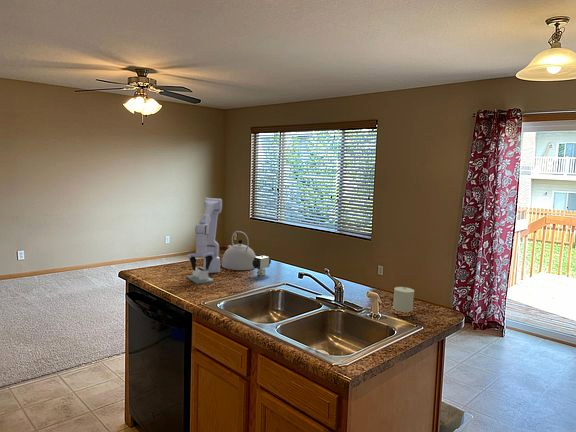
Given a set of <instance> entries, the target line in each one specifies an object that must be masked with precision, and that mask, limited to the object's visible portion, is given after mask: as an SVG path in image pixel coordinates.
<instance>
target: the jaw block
mask: <svg viewBox="0 0 576 432" xmlns="http://www.w3.org/2000/svg"><path fill="white" fill-rule="evenodd" d="M192 275H193V277H195V278H196V279H198V280H199V281H200V280H208V277H209V273H208V270H206V269H205V268H204V266H196V269H195V271H194V270H193V269H192Z"/></svg>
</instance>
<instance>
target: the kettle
mask: <svg viewBox="0 0 576 432" xmlns="http://www.w3.org/2000/svg"><path fill="white" fill-rule="evenodd" d="M236 233H241V234H243V235H244V236H245V238H246V240H247V243H246V244H242V243H243V240H242V239H238V241H237V244H235V243H234V235H235V234H236ZM231 244H232V245H231ZM231 244H229V245H227V249H226V250H225V252H224V254H223V255H222V258H221V265H222V266H221V267H223V268H224V269H227V270H234V271H248V270H249V271H250V270H254V269H255V268H254V266H253V264H252V262H253V260H254V257H257V256H256V253H255V251H254V250H253V249H252V248H251V247H249V245H250V240H249V237H248V235H247V233H245V232H243V231H240V230H235V231H234V232H233V233H232V235H231Z"/></svg>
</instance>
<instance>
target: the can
mask: <svg viewBox="0 0 576 432" xmlns="http://www.w3.org/2000/svg"><path fill="white" fill-rule="evenodd" d="M393 292H394V293H393V304H392V310H393V309H395V310H397V311H401V312H410V311H412V312H413V308H414V297H415V289H413V288H411V287H407V286H406V287H405V286H395V287H394V291H393Z"/></svg>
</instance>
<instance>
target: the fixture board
mask: <svg viewBox="0 0 576 432" xmlns="http://www.w3.org/2000/svg"><path fill="white" fill-rule="evenodd" d="M186 278H187V279H189V280H190V281H192V282H193V283H195V284H196V285H199V284H207V283H214V282H215V281H214V279H213V278H211V277H210V276H208V280H200V281H199V280H198V279H196V278H195V277H193V274H191V275H187V276H186Z"/></svg>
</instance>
